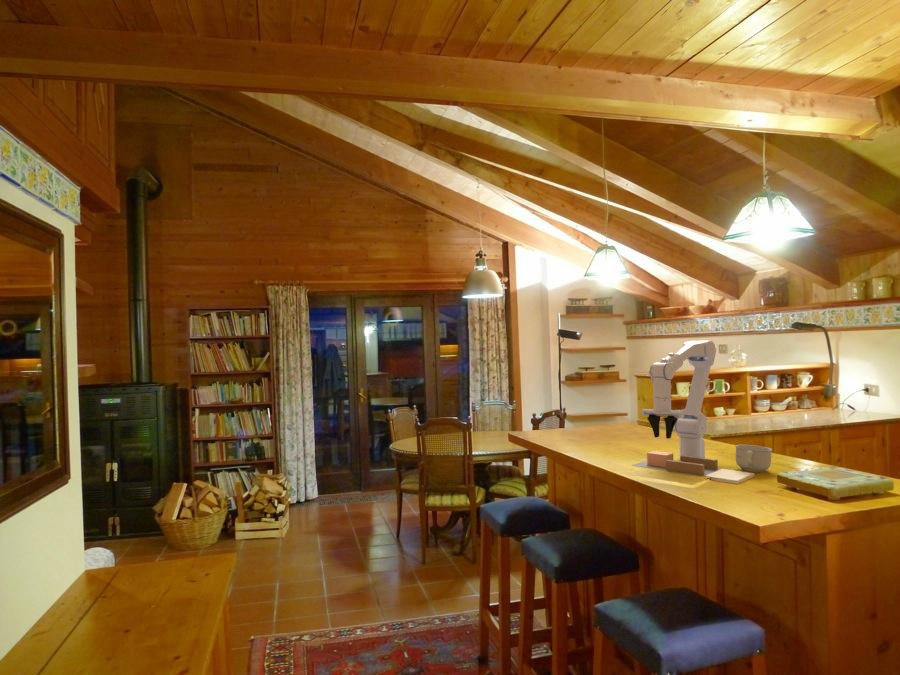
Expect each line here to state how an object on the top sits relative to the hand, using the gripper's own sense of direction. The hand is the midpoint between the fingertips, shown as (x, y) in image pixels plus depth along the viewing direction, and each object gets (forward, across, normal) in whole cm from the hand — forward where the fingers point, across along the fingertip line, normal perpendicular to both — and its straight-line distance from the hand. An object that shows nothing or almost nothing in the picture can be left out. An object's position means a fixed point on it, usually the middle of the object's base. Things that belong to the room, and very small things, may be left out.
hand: (662, 437), depth 210 cm
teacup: (+11, +24, +14) cm, 30 cm away
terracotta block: (+9, -1, 0) cm, 9 cm away
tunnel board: (+10, +10, 0) cm, 14 cm away
